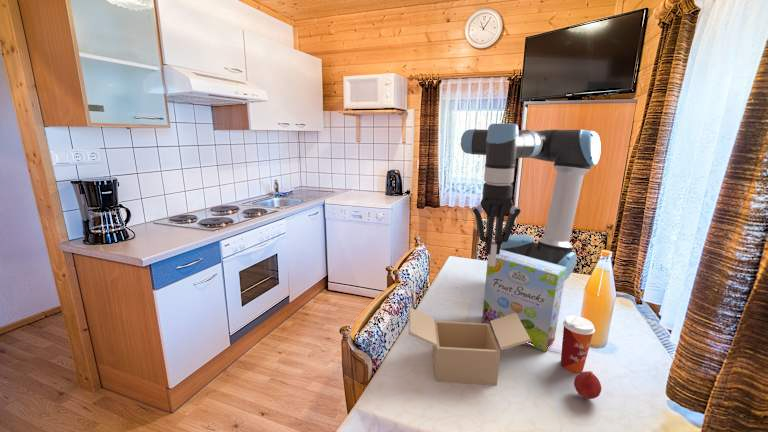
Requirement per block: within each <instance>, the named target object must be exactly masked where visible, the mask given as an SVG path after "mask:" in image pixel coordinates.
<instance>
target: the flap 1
mask: <svg viewBox="0 0 768 432" xmlns="http://www.w3.org/2000/svg"><path fill="white" fill-rule="evenodd" d="M434 321H435V318H434V317H432V316H430V315H428V314H426V313H424V312H421V311H420V310H418V309H415V308H413V307H411V306H410V307H409V309H408V335H409V336H411V337H414V338H415V339H418V340H420V341H422V342H424V343H427V344H429V345H431V346H432V345H433V346H436V345H437V342H436V333H435V324H434Z"/></svg>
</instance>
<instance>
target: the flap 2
mask: <svg viewBox="0 0 768 432" xmlns="http://www.w3.org/2000/svg"><path fill="white" fill-rule="evenodd" d="M490 322H491V325H492V327H493V329H492V331H493V333H494V336H495V337H496V341H497V342H498V346H499V348H500V351H503V350H507V349H511V348H513V347H516V346H517V347H518V346H520V345H524V344H526V343H527V342H530V341H531V339H530V337H529V335H528V334H527V332H526V330H525V328H524V326H523V325H522V323H521V321H520V319H519V317H518V316H517V314H516V313H513V314H510V315H507V316H504V317H501V318H498V319H495V320H491V321H490Z"/></svg>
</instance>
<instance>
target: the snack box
mask: <svg viewBox="0 0 768 432" xmlns="http://www.w3.org/2000/svg"><path fill="white" fill-rule="evenodd" d="M486 264H487V265H486V274H485V285H484V296H483V306H482V315H481V316H482V317H481V323H487V324H490V327H491V329H492V330H493V327H492V325H491V322H490V321H491V320H495V319H498V318H501V317H504V316H507V315H510V314H513V313H516V314H517V316H518V317H519V319H520V321H521V323H522V325H523V326H524V328H525V330H526V332H527V334H528V335H529V337H530V339H531V341H530V342H528V343H531V344H533V345H534V348H535V349H538V350H540V351H542V352H545V353H546V352H547V351H548V350H549V349H548V347H549V346H550V345H551V344H552V345H553V343H554V342H555V339H556V333H557V328H558V320H559V316H560V310H561V304H562V297H563V293H564V287H565V282H566V280H565V275H566V269H567V267H564V266H560V265H556V264H553V263H549V262H546V261H542V260H538V259H535V258H531V257H527V256H523V255H520V254H516V253H512V252H508V251H505V250H501V248H500V253H499V254H496V262H495V266H489V264H488V263H486ZM553 341H554V342H553ZM552 345H551V346H552ZM551 346H550V347H551ZM550 347H549V348H550Z"/></svg>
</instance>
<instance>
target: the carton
mask: <svg viewBox="0 0 768 432" xmlns="http://www.w3.org/2000/svg"><path fill="white" fill-rule="evenodd" d="M434 324H435V333H436V342H437V345H436V346H433V345H431V347H432V349H431V353H432V355H431V356H432V365H433V377H434V382H439V383H453V384H454V383H455V384H470V385H473V384H474V385H488V386H497V385H498V376H499V367H500V359H501V349H500V346H499V344H498V343H497V342H498V341H497V338H495V337H496V336H495V333H494V331H493V329H492V328H491V327H490V324H487V323H482V322H466V321H465V322H463V321H462V322H461V321H448V320H447V321H443V320H434Z"/></svg>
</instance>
